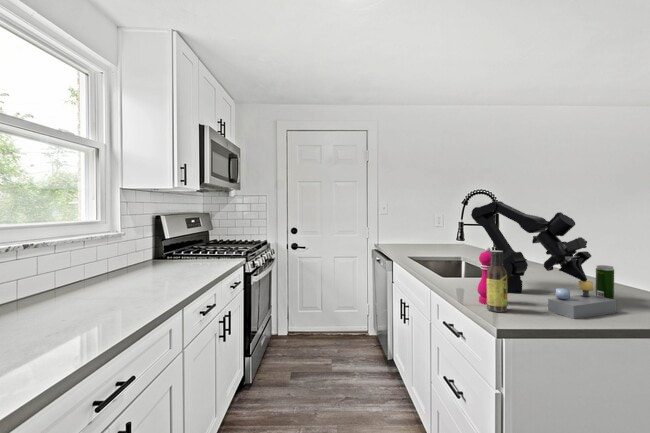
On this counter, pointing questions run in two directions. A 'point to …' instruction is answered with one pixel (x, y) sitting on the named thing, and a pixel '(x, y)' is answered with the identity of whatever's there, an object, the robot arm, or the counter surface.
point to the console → (582, 306)
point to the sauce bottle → (496, 283)
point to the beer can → (605, 281)
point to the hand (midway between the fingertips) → (585, 280)
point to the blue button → (563, 293)
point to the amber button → (586, 287)
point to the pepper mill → (484, 275)
